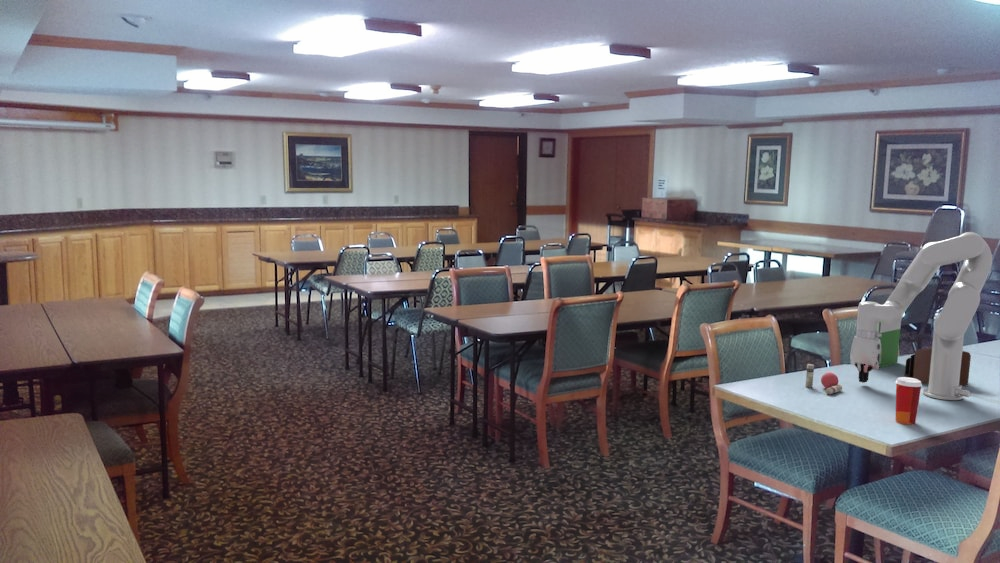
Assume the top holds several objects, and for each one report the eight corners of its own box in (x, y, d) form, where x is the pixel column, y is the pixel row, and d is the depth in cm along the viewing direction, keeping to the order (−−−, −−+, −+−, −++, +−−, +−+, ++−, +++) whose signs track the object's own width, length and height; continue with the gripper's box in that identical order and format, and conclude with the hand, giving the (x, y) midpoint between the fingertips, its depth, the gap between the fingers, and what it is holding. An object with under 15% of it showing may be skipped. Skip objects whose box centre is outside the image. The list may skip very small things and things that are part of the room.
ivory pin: (840, 383, 284) (829, 386, 278) (843, 389, 283) (833, 393, 277) (834, 386, 285) (824, 389, 280) (837, 392, 285) (827, 395, 279)
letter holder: (968, 386, 295) (971, 350, 294) (912, 383, 299) (915, 347, 297) (957, 380, 305) (961, 345, 303) (904, 377, 309) (907, 342, 307)
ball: (841, 388, 284) (841, 372, 285) (825, 387, 283) (825, 371, 284) (833, 390, 289) (833, 374, 291) (818, 388, 289) (817, 372, 290)
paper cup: (912, 419, 251) (916, 377, 250) (923, 426, 244) (927, 383, 242) (887, 417, 252) (891, 376, 250) (897, 425, 245) (901, 382, 243)
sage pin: (813, 387, 289) (815, 365, 288) (810, 388, 287) (811, 365, 286) (807, 385, 291) (809, 363, 290) (804, 386, 289) (805, 364, 288)
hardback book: (877, 368, 322) (881, 311, 319) (859, 364, 328) (864, 309, 325) (897, 362, 333) (902, 308, 329) (880, 359, 338) (884, 305, 335)
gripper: (891, 336, 287) (887, 384, 289) (853, 330, 299) (849, 376, 301) (881, 338, 282) (877, 387, 285) (842, 332, 294) (839, 378, 296)
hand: (863, 381), depth 293 cm, fingers closed
